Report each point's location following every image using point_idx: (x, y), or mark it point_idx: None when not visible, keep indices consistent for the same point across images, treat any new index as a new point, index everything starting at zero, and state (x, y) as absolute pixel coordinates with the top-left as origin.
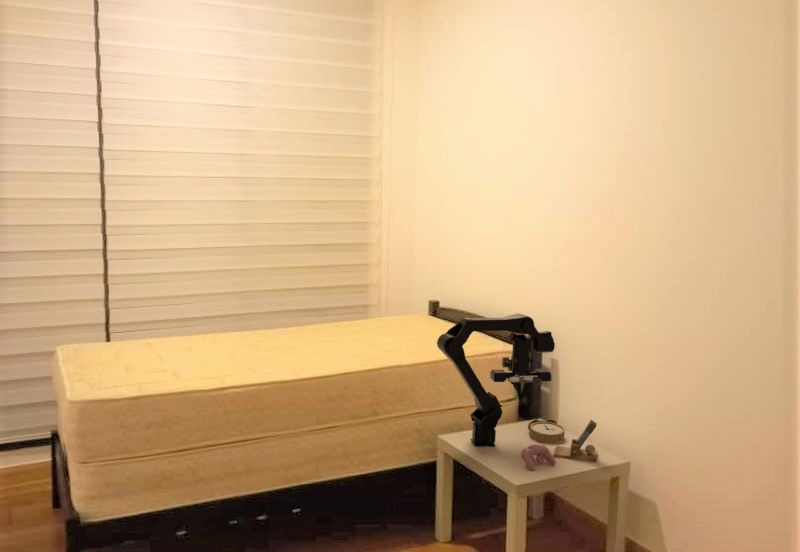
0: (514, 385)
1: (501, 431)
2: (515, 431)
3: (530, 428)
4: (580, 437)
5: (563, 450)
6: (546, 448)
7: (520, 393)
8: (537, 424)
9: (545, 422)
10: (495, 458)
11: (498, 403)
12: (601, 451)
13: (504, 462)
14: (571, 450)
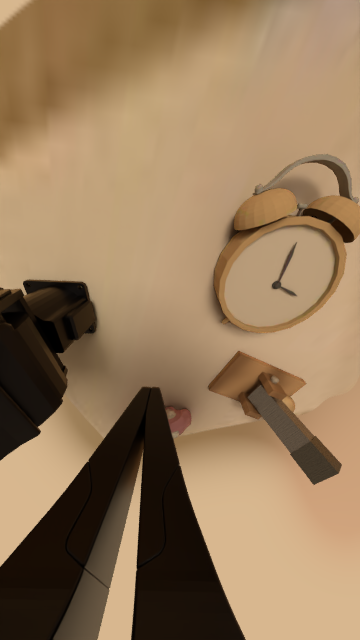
0: (28, 576)
1: (136, 191)
2: (190, 198)
3: (220, 276)
4: (273, 430)
5: (239, 377)
6: (179, 433)
7: (129, 491)
8: (271, 234)
9: (314, 226)
10: (91, 384)
11: (3, 454)
12: (321, 371)
13: (107, 399)
14: (242, 404)
